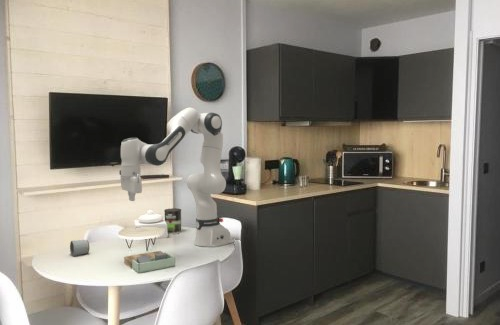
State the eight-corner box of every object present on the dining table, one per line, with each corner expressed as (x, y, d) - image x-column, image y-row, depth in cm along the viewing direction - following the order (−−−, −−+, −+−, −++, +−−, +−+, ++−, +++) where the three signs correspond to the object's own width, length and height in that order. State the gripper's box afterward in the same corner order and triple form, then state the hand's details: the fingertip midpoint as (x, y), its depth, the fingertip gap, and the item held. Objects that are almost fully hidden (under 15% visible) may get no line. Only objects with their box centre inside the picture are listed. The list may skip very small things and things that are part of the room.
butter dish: (167, 238, 253) (166, 211, 252) (136, 241, 248) (135, 213, 247) (164, 231, 270) (163, 206, 269) (134, 234, 264) (133, 208, 263)
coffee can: (178, 234, 262) (177, 211, 261) (162, 233, 264) (161, 211, 263) (184, 230, 272) (183, 208, 271) (168, 230, 274) (167, 208, 273)
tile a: (165, 252, 201) (167, 253, 199) (165, 263, 201) (167, 264, 199) (154, 254, 198) (157, 255, 196) (155, 264, 199) (157, 266, 196)
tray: (167, 261, 205) (167, 253, 205) (175, 266, 198) (174, 257, 198) (131, 268, 196) (131, 259, 196) (138, 273, 189) (138, 264, 188)
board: (160, 256, 214) (160, 250, 214) (168, 261, 206) (168, 255, 205) (124, 263, 204) (124, 256, 204) (131, 268, 196) (130, 261, 196)
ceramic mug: (90, 254, 220) (89, 239, 220) (73, 257, 215) (73, 242, 215) (84, 250, 228) (83, 236, 228) (68, 253, 224) (67, 238, 223)
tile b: (146, 260, 199) (147, 255, 198) (150, 267, 195) (151, 261, 194) (136, 262, 196) (136, 257, 195) (139, 269, 193) (140, 263, 191)
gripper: (144, 172, 198) (145, 202, 199) (130, 170, 215) (131, 197, 216) (131, 173, 194) (132, 204, 195) (118, 171, 212) (119, 199, 212)
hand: (131, 200), depth 206 cm, fingers closed
